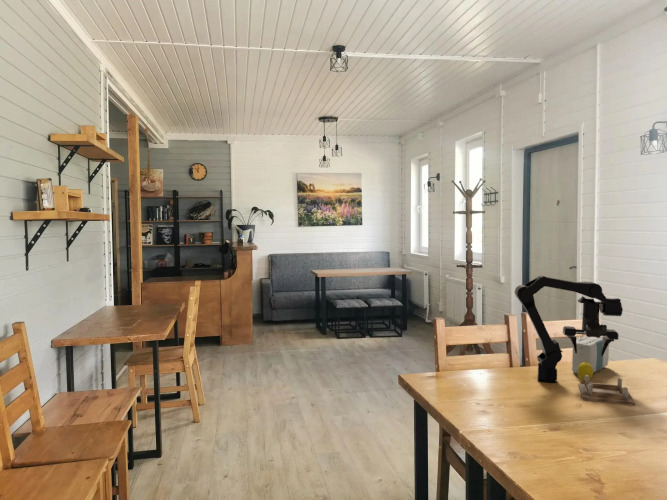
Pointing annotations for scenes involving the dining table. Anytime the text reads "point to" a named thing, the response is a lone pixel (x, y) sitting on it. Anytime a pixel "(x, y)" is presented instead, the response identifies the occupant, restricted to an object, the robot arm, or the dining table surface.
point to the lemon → (585, 370)
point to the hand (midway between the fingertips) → (588, 354)
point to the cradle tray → (605, 392)
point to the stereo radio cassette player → (589, 353)
